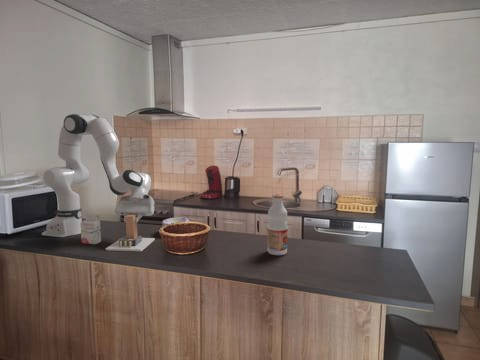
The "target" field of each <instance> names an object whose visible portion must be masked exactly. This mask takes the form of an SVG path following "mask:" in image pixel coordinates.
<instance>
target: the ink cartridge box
mask: <svg viewBox="0 0 480 360" xmlns="http://www.w3.org/2000/svg"><path fill="white" fill-rule="evenodd" d="M84 216H85V217H84V218H85V219H84V220H82V222H80V223H81V233H80V236H81V237H80V238H81V244H88V245H97V244H99V243H101V241H102V234H101V230H102V229H101V219H100V215H99V214H84Z"/></svg>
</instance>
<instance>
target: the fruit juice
mask: <svg viewBox="0 0 480 360" xmlns="http://www.w3.org/2000/svg"><path fill="white" fill-rule="evenodd" d="M283 199H284V195H283V194H277V193H276V194H275V193H274V194H273V195H272V201H273V202H272V205H271V206H270V208H269V209H268V211H267V217H268V221H267V244H266V247H267V250H266V251H267V253H268V254H269V255H272V256H283V255H286V254H287V252H288V221H287V217H288V210H287V209H286V208H285V206H284V202H283Z"/></svg>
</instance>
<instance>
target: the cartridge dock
mask: <svg viewBox="0 0 480 360" xmlns="http://www.w3.org/2000/svg"><path fill="white" fill-rule="evenodd" d="M154 241H156V240H155V238H154V237H143V236H142V235H137V238H135V239H127V235H124V236H123V237H121V238H119V239H118V240H116V241H115V242H113V243H112V244H110V245H109V246H107V247H106V248H105V251H114V252H115V251H116V252H143V250H144V249H146V248H147V247H148V246H149V245H151V244H152V243H153V242H154Z"/></svg>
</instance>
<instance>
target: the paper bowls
mask: <svg viewBox="0 0 480 360" xmlns="http://www.w3.org/2000/svg"><path fill="white" fill-rule="evenodd" d="M177 222H189V223H190V220H189V218H186V217H170V218H166V219H163V220H162V226H165V225H168V224H171V223H177ZM162 226H161V227H162Z"/></svg>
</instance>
